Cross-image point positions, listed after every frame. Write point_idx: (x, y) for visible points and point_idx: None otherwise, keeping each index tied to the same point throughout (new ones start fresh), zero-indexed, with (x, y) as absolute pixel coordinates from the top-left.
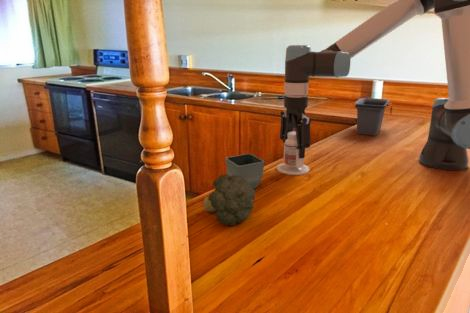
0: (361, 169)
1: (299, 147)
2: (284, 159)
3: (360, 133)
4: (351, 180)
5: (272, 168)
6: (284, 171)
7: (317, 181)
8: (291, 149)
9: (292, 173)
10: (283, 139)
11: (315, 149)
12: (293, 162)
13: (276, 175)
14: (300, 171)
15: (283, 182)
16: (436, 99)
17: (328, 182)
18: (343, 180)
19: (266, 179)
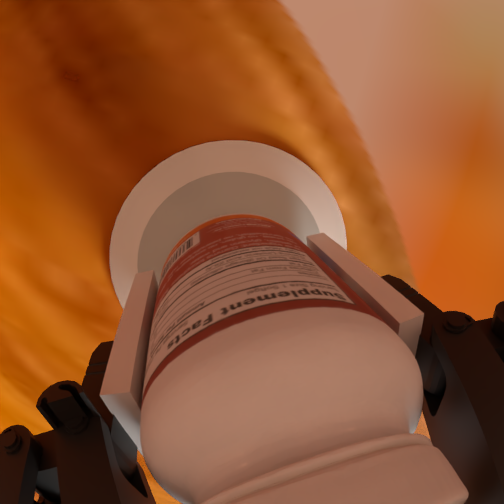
0: (158, 490)
1: (48, 419)
2: (318, 241)
3: None
4: (42, 430)
5: (303, 128)
6: (173, 173)
7: (14, 315)
8: (166, 330)
9: (116, 218)
10: (471, 333)
11: (419, 422)
12: (163, 273)
13: (149, 96)
14: None
15: (21, 110)
16: None
17: (8, 353)
18: (38, 411)
19: (105, 12)
